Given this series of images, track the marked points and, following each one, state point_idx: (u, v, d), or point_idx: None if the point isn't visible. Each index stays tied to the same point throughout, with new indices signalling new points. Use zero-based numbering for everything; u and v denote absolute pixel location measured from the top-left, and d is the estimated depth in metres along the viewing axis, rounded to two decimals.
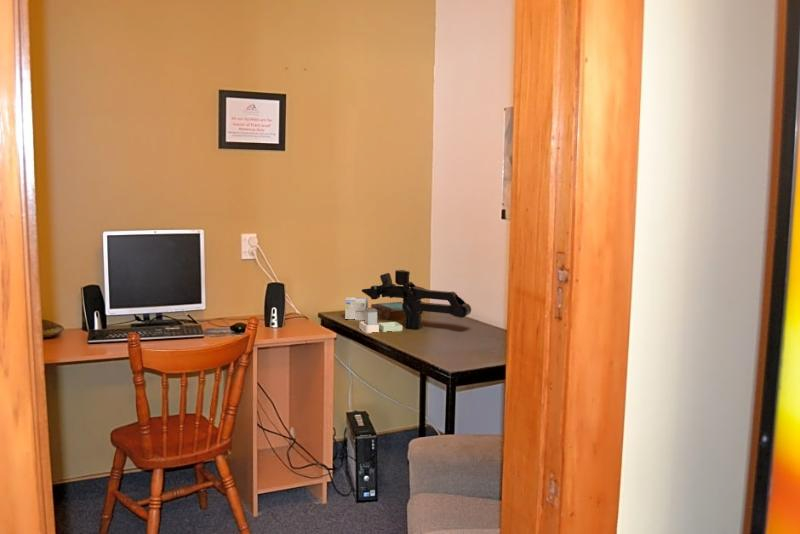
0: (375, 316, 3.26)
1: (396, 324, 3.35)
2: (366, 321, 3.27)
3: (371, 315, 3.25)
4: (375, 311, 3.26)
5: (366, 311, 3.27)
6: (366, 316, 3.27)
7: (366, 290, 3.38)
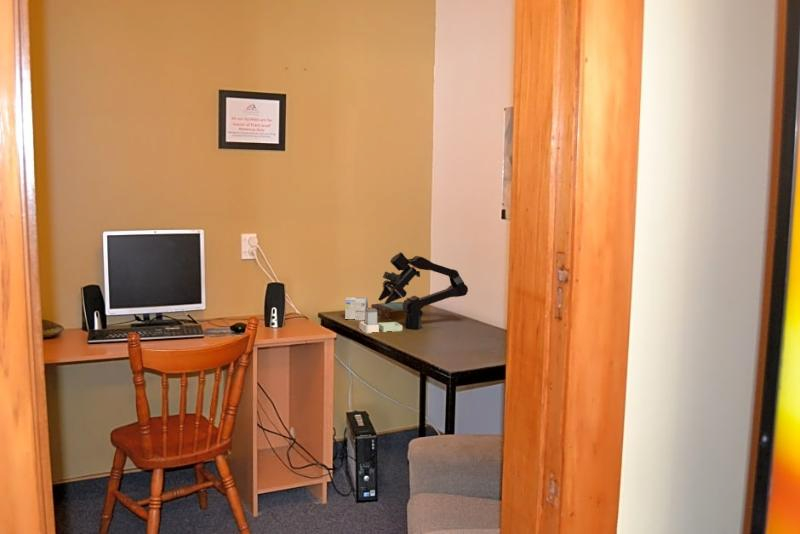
0: (375, 316, 3.26)
1: (396, 324, 3.35)
2: (366, 321, 3.27)
3: (371, 315, 3.25)
4: (375, 311, 3.26)
5: (366, 311, 3.27)
6: (366, 316, 3.27)
7: (390, 298, 3.24)
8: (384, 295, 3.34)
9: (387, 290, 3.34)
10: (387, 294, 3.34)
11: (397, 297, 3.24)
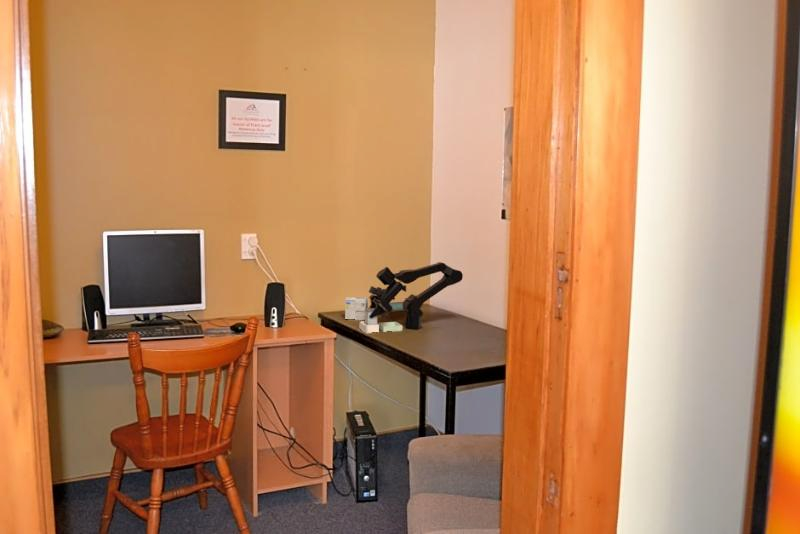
0: (375, 316, 3.26)
1: (396, 324, 3.35)
2: (366, 321, 3.27)
3: None
4: None
5: (366, 311, 3.27)
6: (366, 316, 3.27)
7: (374, 312, 3.24)
8: None
9: (374, 305, 3.31)
10: None
11: (382, 311, 3.24)
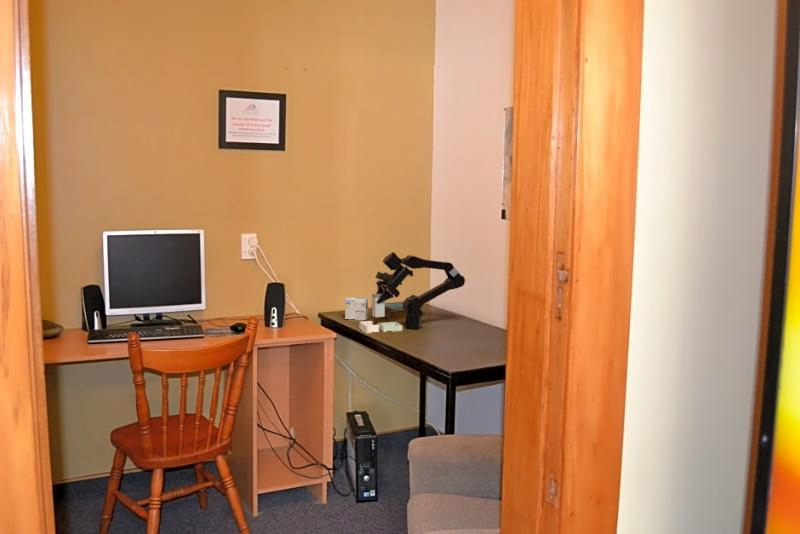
0: None
1: (396, 324, 3.35)
2: (373, 306, 3.28)
3: None
4: None
5: (373, 296, 3.27)
6: (373, 301, 3.27)
7: (381, 298, 3.24)
8: None
9: (382, 291, 3.31)
10: None
11: (389, 296, 3.25)
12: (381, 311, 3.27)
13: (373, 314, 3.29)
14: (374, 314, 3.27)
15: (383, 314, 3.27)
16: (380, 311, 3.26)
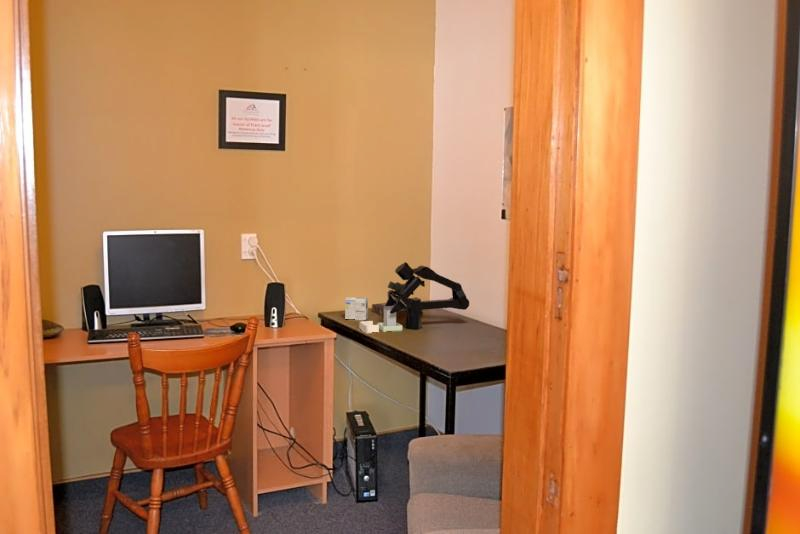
0: (394, 314, 3.29)
1: (396, 324, 3.35)
2: (385, 319, 3.30)
3: (390, 313, 3.28)
4: None
5: (385, 309, 3.30)
6: (385, 314, 3.30)
7: (395, 308, 3.25)
8: (389, 304, 3.35)
9: (392, 300, 3.36)
10: (392, 304, 3.36)
11: (402, 307, 3.26)
12: (392, 323, 3.29)
13: None
14: None
15: None
16: (392, 324, 3.29)
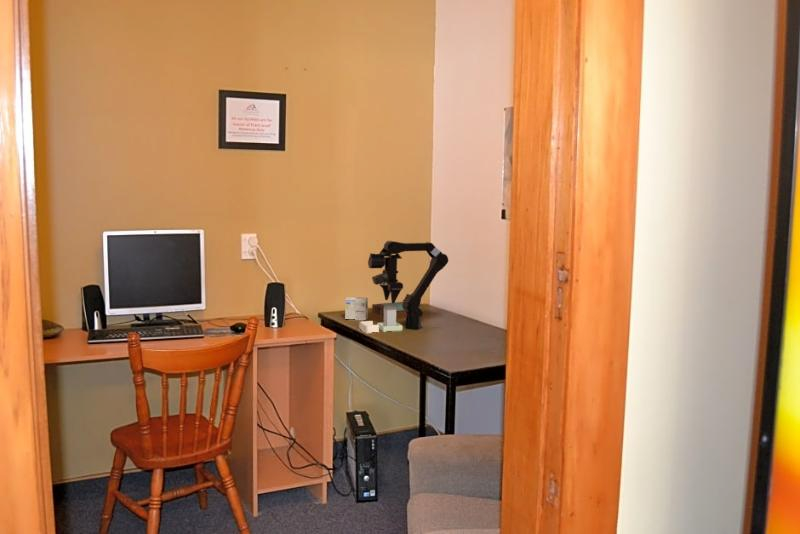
0: (394, 314, 3.29)
1: (396, 324, 3.35)
2: (385, 319, 3.30)
3: (390, 313, 3.28)
4: (394, 309, 3.29)
5: (385, 309, 3.30)
6: (385, 314, 3.30)
7: (393, 297, 3.24)
8: (387, 292, 3.34)
9: (386, 287, 3.34)
10: (389, 289, 3.34)
11: (398, 291, 3.24)
12: (392, 323, 3.29)
13: None
14: None
15: None
16: (392, 324, 3.29)
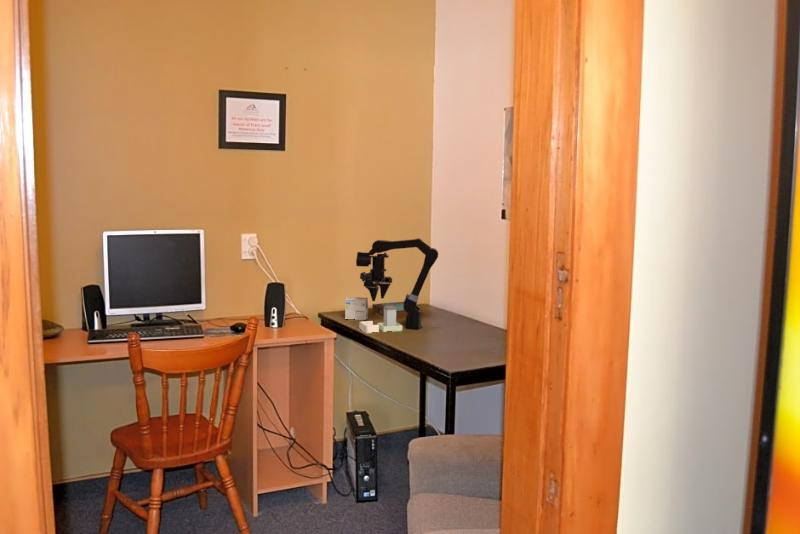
0: (394, 314, 3.29)
1: (396, 324, 3.35)
2: (385, 319, 3.30)
3: (390, 313, 3.28)
4: (394, 309, 3.29)
5: (385, 309, 3.30)
6: (385, 314, 3.30)
7: (371, 295, 3.30)
8: (383, 291, 3.39)
9: (382, 285, 3.39)
10: (384, 288, 3.39)
11: (375, 289, 3.28)
12: (392, 323, 3.29)
13: None
14: None
15: None
16: (392, 324, 3.29)
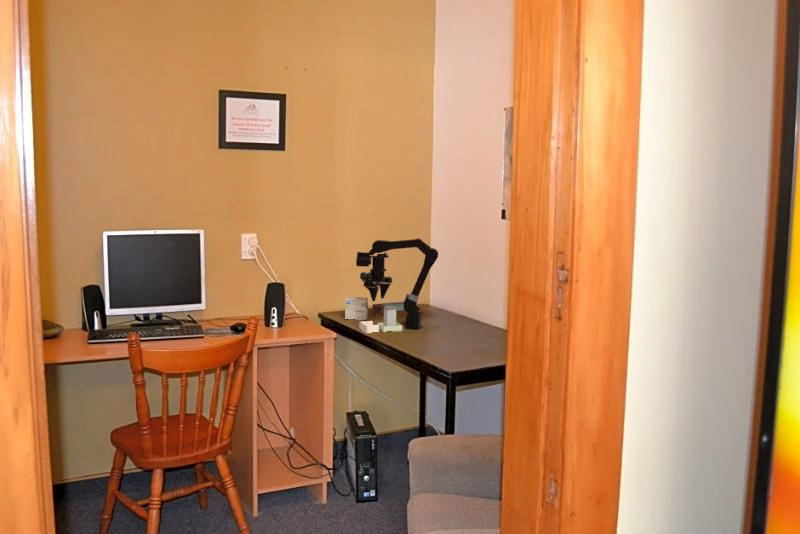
0: (394, 314, 3.29)
1: (396, 324, 3.35)
2: (385, 319, 3.30)
3: (390, 313, 3.28)
4: (394, 309, 3.29)
5: (385, 309, 3.30)
6: (385, 314, 3.30)
7: (371, 295, 3.30)
8: (383, 291, 3.39)
9: (382, 285, 3.39)
10: (385, 288, 3.39)
11: (375, 289, 3.28)
12: (392, 323, 3.29)
13: None
14: None
15: None
16: (392, 324, 3.29)
